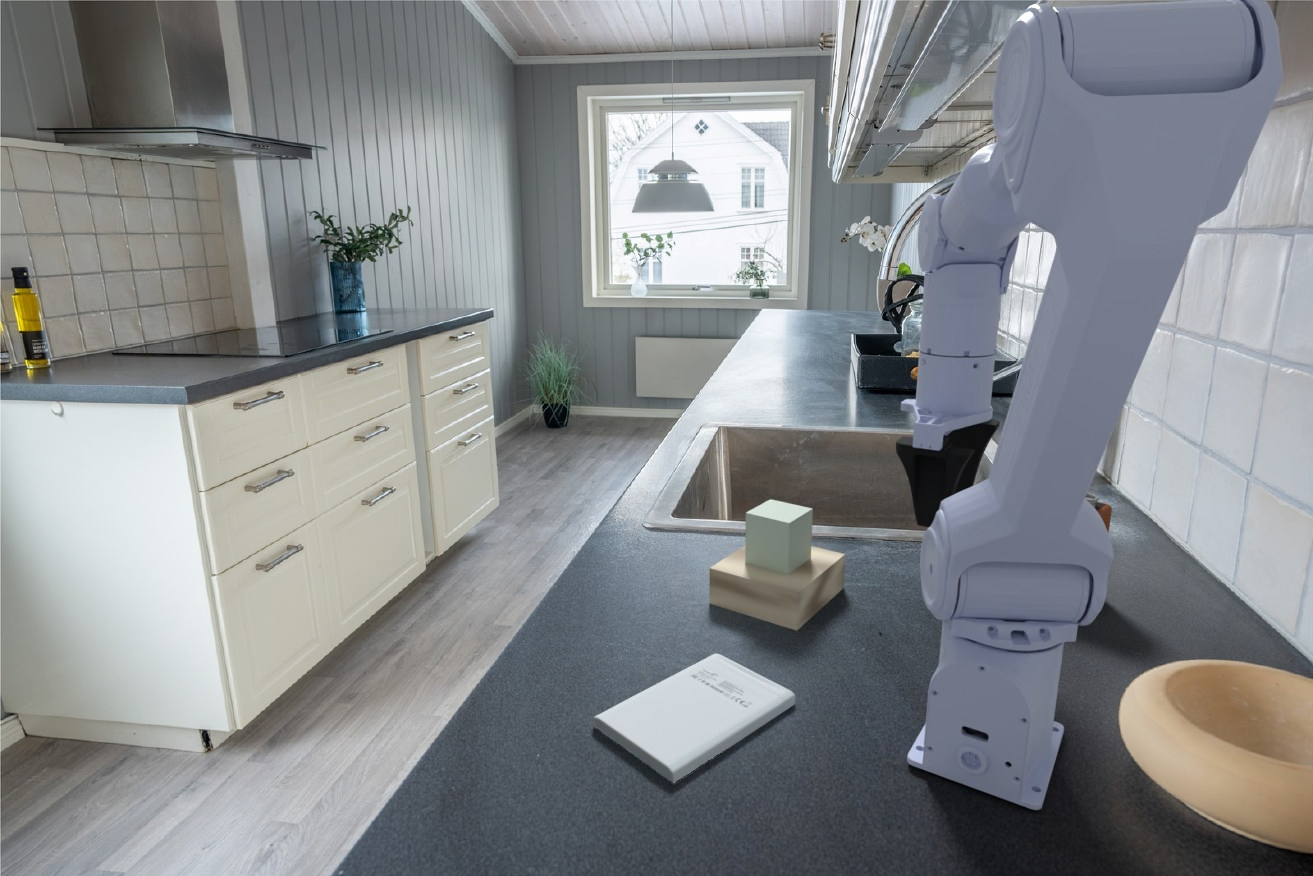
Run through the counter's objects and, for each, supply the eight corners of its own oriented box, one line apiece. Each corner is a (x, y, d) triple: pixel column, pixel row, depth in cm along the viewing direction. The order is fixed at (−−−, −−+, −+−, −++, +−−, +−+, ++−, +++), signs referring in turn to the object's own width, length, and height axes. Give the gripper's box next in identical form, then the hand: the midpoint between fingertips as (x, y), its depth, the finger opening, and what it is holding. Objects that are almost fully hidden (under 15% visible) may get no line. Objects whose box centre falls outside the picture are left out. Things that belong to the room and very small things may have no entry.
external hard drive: (593, 734, 55) (714, 667, 63) (673, 792, 49) (795, 710, 57) (592, 714, 55) (714, 649, 63) (673, 770, 49) (796, 691, 57)
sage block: (787, 575, 70) (789, 523, 69) (745, 562, 73) (745, 512, 71) (811, 558, 73) (812, 508, 72) (769, 547, 76) (770, 499, 75)
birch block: (796, 634, 68) (798, 593, 66) (709, 607, 73) (709, 568, 72) (843, 592, 75) (845, 554, 74) (761, 570, 80) (762, 534, 79)
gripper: (930, 338, 70) (920, 481, 73) (877, 361, 58) (867, 529, 62) (1015, 343, 66) (999, 494, 70) (976, 368, 55) (960, 548, 58)
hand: (943, 512), depth 66 cm, fingers open, 7 cm apart
